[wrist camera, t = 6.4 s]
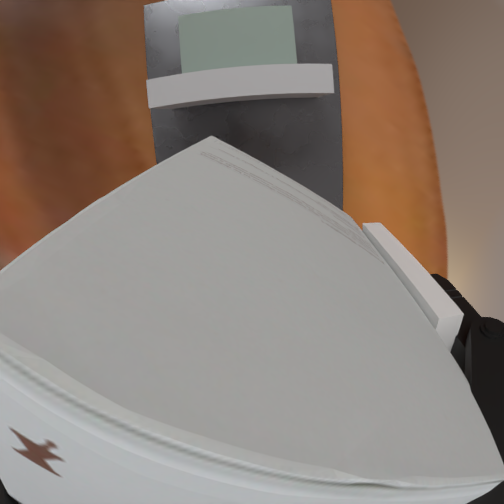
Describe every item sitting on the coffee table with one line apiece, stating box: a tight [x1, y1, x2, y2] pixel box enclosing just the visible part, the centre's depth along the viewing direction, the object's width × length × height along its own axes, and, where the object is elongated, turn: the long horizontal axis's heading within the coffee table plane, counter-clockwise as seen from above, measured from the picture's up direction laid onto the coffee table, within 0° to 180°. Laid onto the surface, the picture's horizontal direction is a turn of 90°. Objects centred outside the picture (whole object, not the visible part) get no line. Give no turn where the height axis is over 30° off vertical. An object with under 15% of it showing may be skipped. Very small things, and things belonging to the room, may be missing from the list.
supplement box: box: [0, 136, 504, 504], centre depth 9 cm, size 7×7×13 cm
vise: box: [144, 0, 343, 211], centre depth 24 cm, size 16×28×7 cm, turn 4°
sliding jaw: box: [146, 6, 334, 109], centre depth 20 cm, size 12×7×6 cm, turn 94°
